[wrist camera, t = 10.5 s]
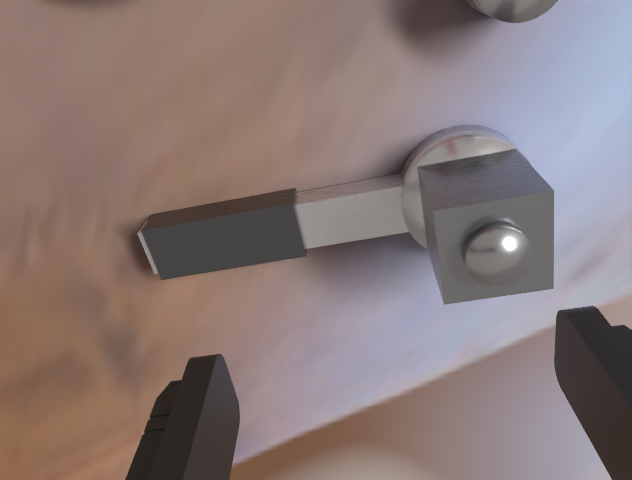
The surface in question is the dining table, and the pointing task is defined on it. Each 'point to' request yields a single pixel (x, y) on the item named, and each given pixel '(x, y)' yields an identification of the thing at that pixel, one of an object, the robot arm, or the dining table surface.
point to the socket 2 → (488, 226)
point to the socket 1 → (512, 9)
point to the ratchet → (305, 214)
